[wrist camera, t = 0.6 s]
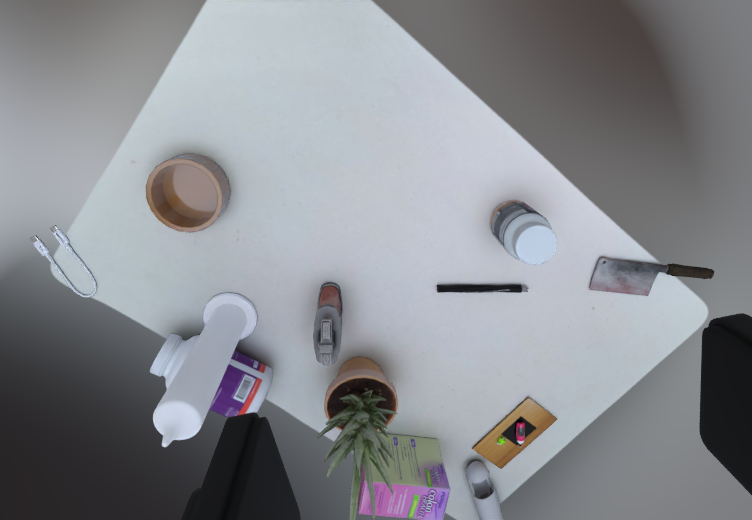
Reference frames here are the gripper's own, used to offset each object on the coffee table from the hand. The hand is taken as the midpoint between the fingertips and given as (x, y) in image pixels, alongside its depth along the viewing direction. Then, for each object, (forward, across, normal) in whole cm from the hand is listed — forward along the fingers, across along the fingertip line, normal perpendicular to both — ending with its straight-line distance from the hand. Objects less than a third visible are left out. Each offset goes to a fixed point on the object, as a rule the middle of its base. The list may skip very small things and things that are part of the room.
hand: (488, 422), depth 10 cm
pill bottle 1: (+48, +22, +30) cm, 61 cm away
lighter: (+52, +11, +21) cm, 57 cm away
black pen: (+52, -10, +21) cm, 57 cm away
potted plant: (+52, +9, +32) cm, 62 cm away
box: (+47, +12, +44) cm, 65 cm away
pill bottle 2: (+52, -15, +14) cm, 56 cm away
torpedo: (+52, -5, +60) cm, 79 cm away
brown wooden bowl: (+52, +23, +1) cm, 57 cm away
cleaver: (+52, -32, +28) cm, 67 cm away
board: (+52, -12, +47) cm, 72 cm away
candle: (+52, +24, +19) cm, 61 cm away
